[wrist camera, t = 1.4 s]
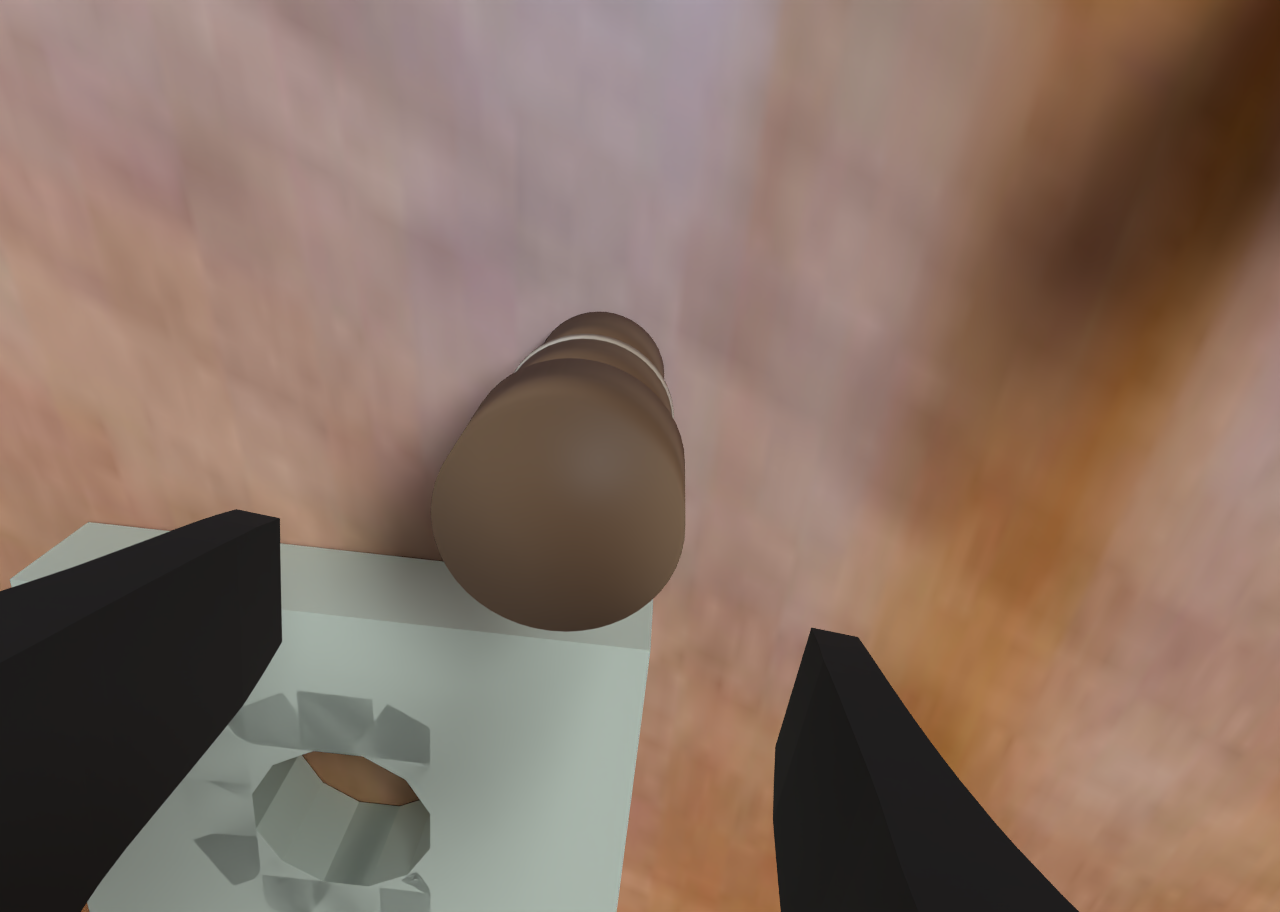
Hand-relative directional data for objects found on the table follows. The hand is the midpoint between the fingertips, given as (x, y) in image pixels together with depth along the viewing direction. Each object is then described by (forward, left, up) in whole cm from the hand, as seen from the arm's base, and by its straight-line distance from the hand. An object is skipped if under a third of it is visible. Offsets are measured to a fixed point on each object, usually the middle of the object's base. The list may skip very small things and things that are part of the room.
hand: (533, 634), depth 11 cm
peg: (0, 0, -11) cm, 11 cm away
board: (-6, -13, -11) cm, 18 cm away
